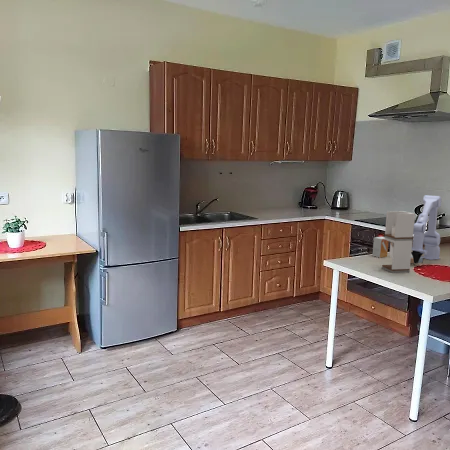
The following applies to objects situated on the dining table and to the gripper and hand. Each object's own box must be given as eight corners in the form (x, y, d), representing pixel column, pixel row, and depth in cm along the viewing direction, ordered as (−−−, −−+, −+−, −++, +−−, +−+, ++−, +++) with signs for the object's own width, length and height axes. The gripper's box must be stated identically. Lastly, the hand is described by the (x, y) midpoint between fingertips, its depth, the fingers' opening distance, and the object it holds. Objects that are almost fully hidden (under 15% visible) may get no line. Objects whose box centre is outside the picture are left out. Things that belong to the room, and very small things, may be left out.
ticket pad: (407, 257, 294) (407, 253, 293) (422, 262, 282) (422, 257, 281) (399, 258, 291) (399, 253, 291) (414, 263, 279) (414, 258, 279)
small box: (379, 258, 291) (381, 239, 289) (372, 256, 296) (373, 237, 294) (387, 256, 295) (389, 238, 293) (379, 254, 300) (381, 236, 298)
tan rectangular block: (405, 260, 285) (406, 255, 285) (413, 263, 279) (414, 258, 279) (400, 260, 284) (401, 256, 284) (408, 263, 278) (409, 258, 277)
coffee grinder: (398, 267, 267) (403, 211, 261) (409, 272, 257) (415, 213, 251) (381, 268, 264) (386, 211, 259) (392, 272, 254) (397, 213, 248)
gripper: (404, 240, 276) (402, 260, 279) (422, 244, 263) (420, 266, 265) (412, 239, 279) (410, 260, 281) (431, 244, 266) (428, 265, 268)
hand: (415, 263), depth 274 cm, fingers closed
